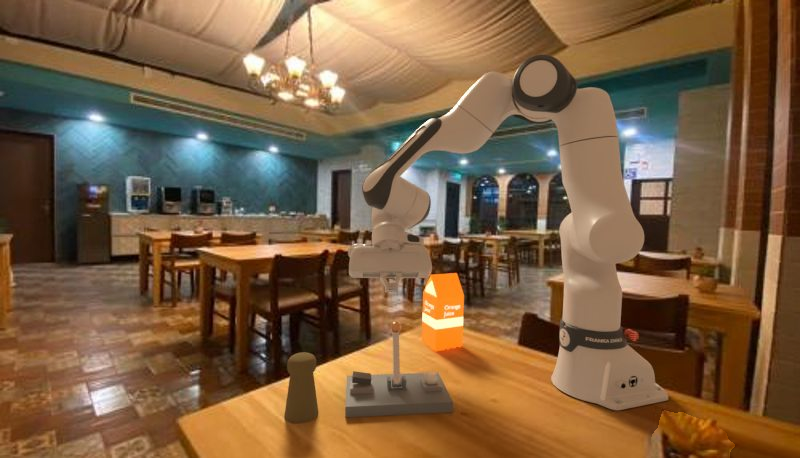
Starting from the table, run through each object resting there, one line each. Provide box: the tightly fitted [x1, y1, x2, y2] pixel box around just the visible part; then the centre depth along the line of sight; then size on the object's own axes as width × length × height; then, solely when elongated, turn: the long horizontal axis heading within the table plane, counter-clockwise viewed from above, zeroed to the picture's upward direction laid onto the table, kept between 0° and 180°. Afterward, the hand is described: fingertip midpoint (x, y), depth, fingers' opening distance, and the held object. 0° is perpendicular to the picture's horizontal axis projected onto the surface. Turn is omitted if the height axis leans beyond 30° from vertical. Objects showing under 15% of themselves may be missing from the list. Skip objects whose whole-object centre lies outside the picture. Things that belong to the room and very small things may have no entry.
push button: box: [424, 371, 437, 384], centre depth 73 cm, size 3×3×1 cm
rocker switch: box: [351, 370, 372, 385], centre depth 72 cm, size 4×2×1 cm, turn 97°
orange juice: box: [421, 272, 465, 352], centre depth 101 cm, size 8×9×20 cm
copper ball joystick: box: [389, 321, 402, 387], centre depth 74 cm, size 2×2×13 cm
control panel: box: [344, 372, 454, 418], centre depth 73 cm, size 20×12×4 cm, turn 97°
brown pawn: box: [284, 351, 319, 424], centre depth 66 cm, size 6×6×11 cm
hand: (391, 291), depth 84 cm, fingers closed
